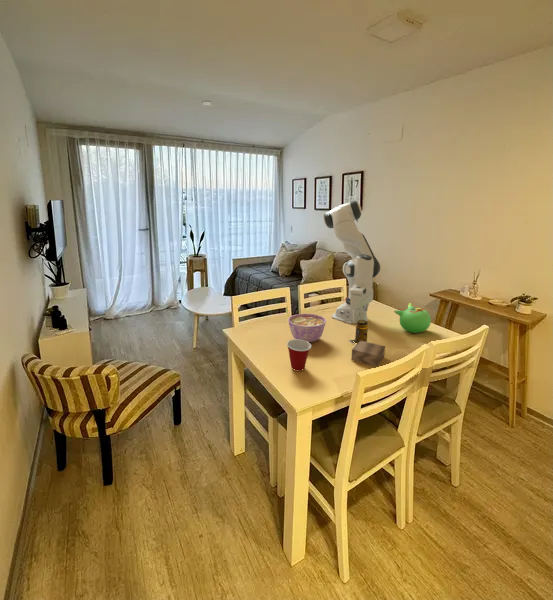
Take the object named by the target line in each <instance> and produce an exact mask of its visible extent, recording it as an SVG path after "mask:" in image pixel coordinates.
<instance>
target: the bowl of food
mask: <svg viewBox="0 0 553 600" xmlns="http://www.w3.org/2000/svg"><path fill="white" fill-rule="evenodd" d="M287 321H288V325H289V328H290V329H289V330H290V333H291V335H292V337H293V338H294V339H299V340H304V341H307V342H311V343H314V342H316V341H318V340H319V339H321V337H322V335H323V332H324V330H325V327H326V324H327V323H326V322H327V320H326V318H325V317H323V316H322V315H318V314H314V313H298V314H294V315H291V316H290V317H288V318H287Z"/></svg>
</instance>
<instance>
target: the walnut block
mask: <svg viewBox="0 0 553 600" xmlns="http://www.w3.org/2000/svg"><path fill="white" fill-rule="evenodd" d="M385 350H386V346H385V345H382V344H377V343H373V342H369V341H367V342H365V341H360V342H359V343H358V344H357V345H356V346H354V347H353V348H352V349H351V358H350V359H351V360H354V361H353V362H355V361H357V362H356V363H359V362H361V363H360V364H363V363H364V364H363V365H368V366H371V367H375V368H377V367H378V366H379V365H380V363H381V362H382V360H383V359H384V357H385V352H386V351H385Z"/></svg>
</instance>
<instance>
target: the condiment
mask: <svg viewBox="0 0 553 600" xmlns="http://www.w3.org/2000/svg"><path fill="white" fill-rule="evenodd" d="M368 330H369V327H368V321H365V320H358V321H357V323H356V325H355V335H354V336H355V337H354V339H349V340H348V341H349V342H350V343H351V344H352V345H353V343H354V342H355V343H357V344H358V343H359V342H360V341H365V342H368V332H369V331H368ZM353 341H354V342H353ZM355 343H354V344H355ZM357 344H356V345H357ZM356 345H353V346H354V347H355V346H356Z"/></svg>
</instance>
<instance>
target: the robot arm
mask: <svg viewBox="0 0 553 600" xmlns="http://www.w3.org/2000/svg"><path fill="white" fill-rule="evenodd" d="M361 216H362V206H361V205H360V203H358V201H356V200H351V201H349V202H347V203H343V204H340V205H338V206H336V207H334V208H332V209H331V210H327V211H326V212H325V213H324V214H323V221H324V224H325V226H326V227H327V228H328V229H333V230H334V234H335V237H336V239H338V240H339V241H340V242H342V246H343V248H344V252H345V253H346V254H348V255H349V256H350V257H351V259H348V260H347V261H346V262H344V264H343V265H342V272H343V274H344V276H345V277H346V279H347V281H348V295H347V297H345V298H344V302H343V303H342V304H340V305H339V306H338V307H337V308H336V309H335V312H334V313H332V314H331V318H332V319H335V320H337V321H341V322H343V323H347V324H351V325H353V324H357V321H358V320H365V321H367V322H368V321H369V319H368V314H367V313H368V308H369V305H370V303H371V302H373V300H374V289H373V278H375V277H376V276H378V275H379V273H380V271H381V264H380V262H379V260H378V259H377V257H376V256H375V254H374V252H373V250H372V248H371V246H370V244H369V242H368V240H367V239H366V236H365V235H364V234H363V233H362V232H360V231H359V228H358V227H357V224H356V223H358V221H359V219H360V218H361ZM355 221H356V222H355Z"/></svg>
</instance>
